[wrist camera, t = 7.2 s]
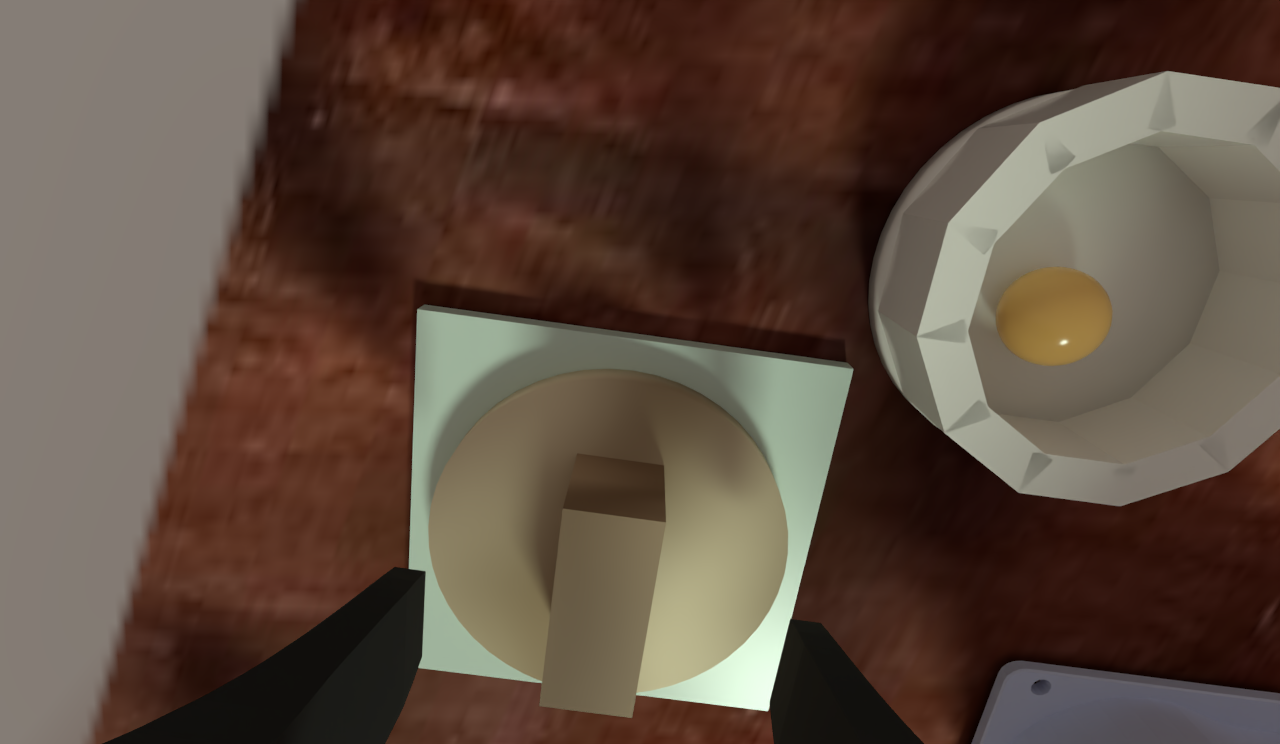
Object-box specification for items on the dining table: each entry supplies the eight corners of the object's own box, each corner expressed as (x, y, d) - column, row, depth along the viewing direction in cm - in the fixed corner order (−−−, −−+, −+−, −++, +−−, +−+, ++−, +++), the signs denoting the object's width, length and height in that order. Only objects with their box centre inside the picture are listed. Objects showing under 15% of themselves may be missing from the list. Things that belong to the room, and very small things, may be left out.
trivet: (847, 362, 15) (853, 368, 15) (765, 697, 19) (767, 710, 18) (424, 304, 15) (417, 308, 15) (411, 652, 18) (405, 666, 18)
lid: (816, 396, 15) (858, 456, 12) (746, 689, 18) (766, 802, 15) (447, 344, 15) (392, 391, 12) (431, 649, 18) (383, 754, 14)
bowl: (1296, 119, 14) (1466, 109, 11) (1152, 464, 16) (1260, 529, 13) (921, 63, 13) (993, 37, 11) (832, 420, 16) (872, 477, 13)
